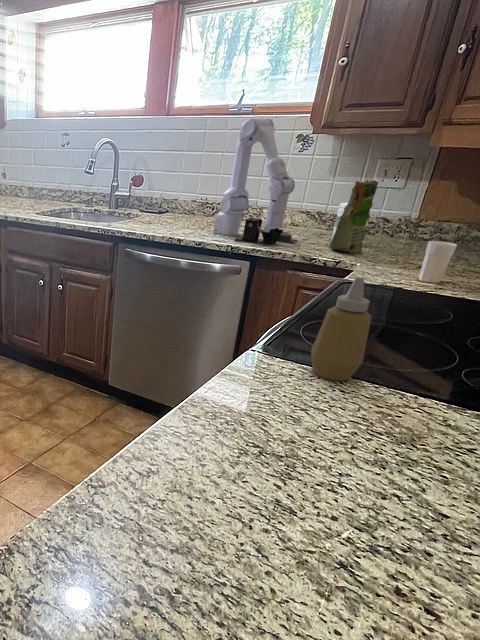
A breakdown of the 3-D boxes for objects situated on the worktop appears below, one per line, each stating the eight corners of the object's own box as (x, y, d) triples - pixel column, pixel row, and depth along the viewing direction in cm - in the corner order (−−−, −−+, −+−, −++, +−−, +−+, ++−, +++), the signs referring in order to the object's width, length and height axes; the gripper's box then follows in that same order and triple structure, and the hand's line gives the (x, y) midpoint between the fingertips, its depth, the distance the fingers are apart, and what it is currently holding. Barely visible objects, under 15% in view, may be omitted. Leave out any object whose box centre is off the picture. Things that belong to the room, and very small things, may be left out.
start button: (277, 235, 203) (278, 230, 203) (280, 234, 205) (281, 229, 205) (285, 236, 201) (286, 231, 201) (288, 235, 203) (289, 230, 203)
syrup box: (352, 242, 205) (363, 204, 199) (337, 242, 205) (348, 204, 199) (344, 239, 210) (354, 202, 204) (329, 239, 210) (339, 202, 204)
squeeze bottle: (338, 365, 99) (367, 271, 91) (367, 384, 91) (401, 284, 84) (296, 365, 99) (322, 271, 91) (322, 384, 91) (352, 284, 84)
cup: (416, 276, 159) (428, 240, 155) (443, 280, 156) (457, 243, 151) (414, 280, 155) (427, 243, 150) (442, 284, 151) (456, 246, 146)
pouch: (357, 249, 194) (378, 178, 184) (368, 256, 184) (391, 181, 174) (323, 246, 197) (342, 177, 187) (333, 253, 187) (353, 180, 176)
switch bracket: (265, 242, 203) (270, 219, 199) (257, 245, 198) (262, 222, 194) (241, 239, 209) (246, 216, 205) (233, 242, 203) (238, 219, 200)
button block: (266, 241, 205) (268, 233, 204) (272, 239, 209) (273, 231, 208) (291, 245, 200) (293, 237, 198) (296, 242, 204) (298, 235, 202)
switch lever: (270, 243, 199) (276, 236, 197) (268, 244, 197) (274, 238, 195) (249, 224, 203) (254, 218, 201) (246, 225, 201) (252, 219, 199)
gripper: (281, 215, 186) (272, 253, 192) (294, 211, 196) (285, 248, 201) (260, 213, 191) (252, 250, 196) (274, 209, 200) (266, 245, 206)
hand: (268, 249), depth 199 cm, fingers closed on switch lever, 3 cm apart
